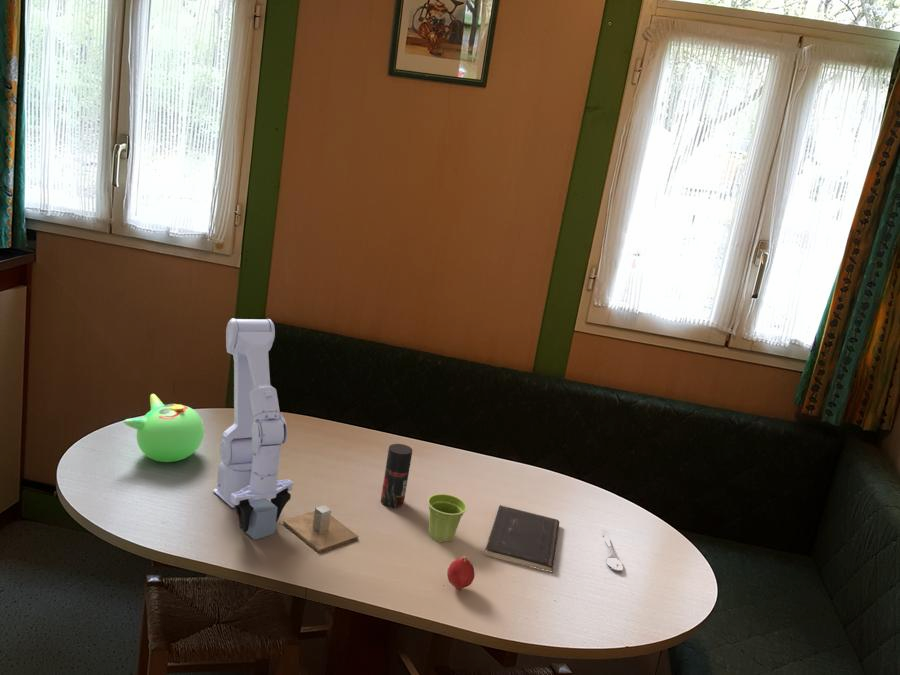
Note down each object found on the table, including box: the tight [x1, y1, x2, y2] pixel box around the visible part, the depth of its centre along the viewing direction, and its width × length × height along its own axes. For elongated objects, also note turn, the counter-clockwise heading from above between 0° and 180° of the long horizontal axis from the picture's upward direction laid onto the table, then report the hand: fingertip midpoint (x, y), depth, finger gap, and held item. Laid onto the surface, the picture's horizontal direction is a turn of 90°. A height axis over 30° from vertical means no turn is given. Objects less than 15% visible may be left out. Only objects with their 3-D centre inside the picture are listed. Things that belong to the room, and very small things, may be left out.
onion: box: [446, 556, 476, 591], centre depth 159 cm, size 6×6×8 cm
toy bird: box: [123, 393, 205, 463], centre depth 192 cm, size 18×17×15 cm
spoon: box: [607, 546, 623, 572], centre depth 186 cm, size 4×21×2 cm, turn 177°
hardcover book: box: [485, 504, 560, 572], centre depth 184 cm, size 16×23×2 cm
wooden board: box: [282, 504, 359, 554], centre depth 171 cm, size 14×11×6 cm
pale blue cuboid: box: [245, 498, 278, 541], centre depth 167 cm, size 5×5×7 cm
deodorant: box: [380, 443, 413, 509], centre depth 189 cm, size 6×6×15 cm
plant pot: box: [427, 493, 468, 543], centre depth 178 cm, size 9×9×9 cm
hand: (258, 524), depth 168 cm, fingers open, 7 cm apart
